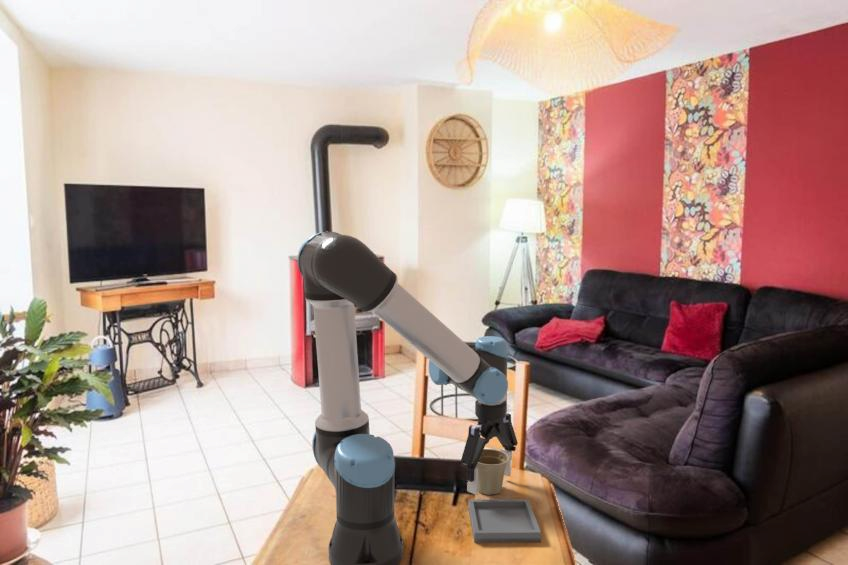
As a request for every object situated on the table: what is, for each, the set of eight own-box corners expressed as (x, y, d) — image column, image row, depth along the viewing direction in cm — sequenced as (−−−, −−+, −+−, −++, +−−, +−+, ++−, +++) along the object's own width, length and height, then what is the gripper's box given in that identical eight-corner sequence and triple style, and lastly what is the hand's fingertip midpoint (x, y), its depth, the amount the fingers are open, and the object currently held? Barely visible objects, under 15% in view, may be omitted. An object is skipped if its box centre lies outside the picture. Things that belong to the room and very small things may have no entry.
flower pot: (507, 481, 155) (508, 449, 154) (509, 499, 146) (509, 465, 145) (470, 479, 156) (471, 447, 155) (469, 497, 147) (470, 464, 146)
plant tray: (474, 542, 128) (474, 532, 128) (468, 508, 142) (468, 499, 142) (540, 542, 128) (540, 532, 128) (528, 508, 142) (528, 499, 142)
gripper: (470, 417, 137) (469, 506, 140) (532, 392, 154) (530, 471, 157) (445, 409, 142) (444, 495, 145) (508, 385, 159) (506, 462, 162)
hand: (489, 483), depth 151 cm, fingers open, 12 cm apart
